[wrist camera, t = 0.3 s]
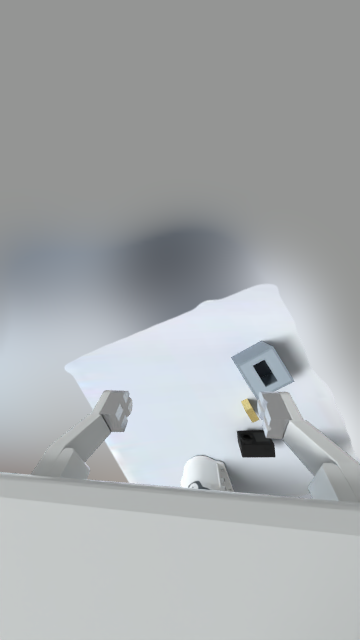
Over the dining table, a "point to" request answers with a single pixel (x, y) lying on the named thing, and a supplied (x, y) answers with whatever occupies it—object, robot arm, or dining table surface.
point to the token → (249, 410)
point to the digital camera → (255, 444)
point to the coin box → (269, 354)
